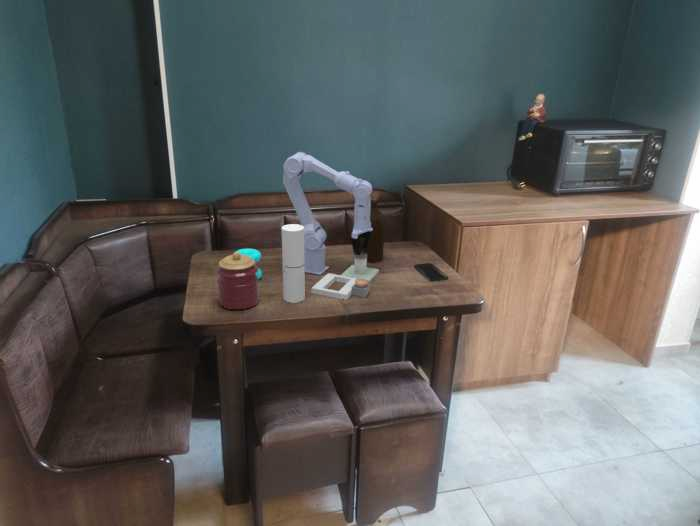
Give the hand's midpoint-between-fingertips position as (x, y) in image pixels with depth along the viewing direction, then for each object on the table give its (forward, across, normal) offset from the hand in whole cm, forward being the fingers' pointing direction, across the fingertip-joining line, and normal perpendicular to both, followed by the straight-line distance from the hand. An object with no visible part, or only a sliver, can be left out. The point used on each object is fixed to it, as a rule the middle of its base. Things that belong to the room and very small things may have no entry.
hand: (361, 251), depth 194 cm
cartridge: (+8, 0, 0) cm, 8 cm away
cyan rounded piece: (+10, -20, +36) cm, 42 cm away
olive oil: (+10, +17, +2) cm, 20 cm away
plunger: (+9, -15, -6) cm, 19 cm away
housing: (+9, -15, 0) cm, 18 cm away
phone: (+10, +13, -24) cm, 29 cm away
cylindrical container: (+10, -28, +13) cm, 32 cm away
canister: (+10, -38, +28) cm, 48 cm away
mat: (+9, 0, 0) cm, 9 cm away
